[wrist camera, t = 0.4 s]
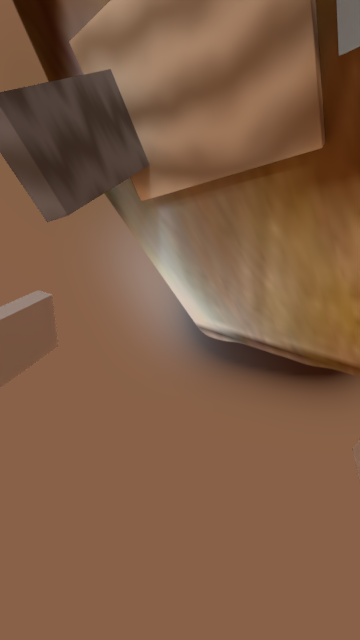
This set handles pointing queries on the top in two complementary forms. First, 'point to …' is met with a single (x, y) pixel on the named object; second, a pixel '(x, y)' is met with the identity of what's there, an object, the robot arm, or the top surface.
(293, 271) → the top surface
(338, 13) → the boxed book
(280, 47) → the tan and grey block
